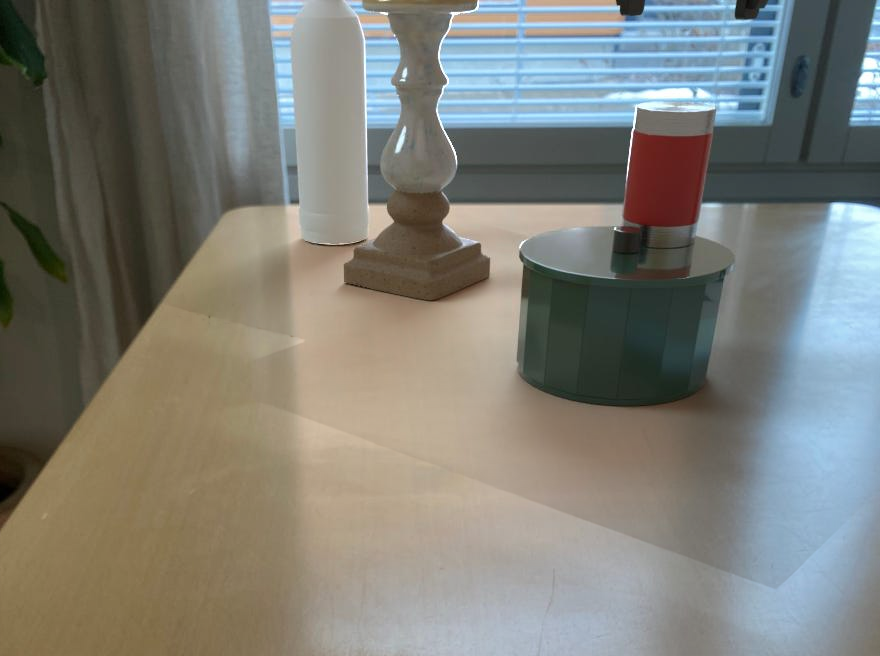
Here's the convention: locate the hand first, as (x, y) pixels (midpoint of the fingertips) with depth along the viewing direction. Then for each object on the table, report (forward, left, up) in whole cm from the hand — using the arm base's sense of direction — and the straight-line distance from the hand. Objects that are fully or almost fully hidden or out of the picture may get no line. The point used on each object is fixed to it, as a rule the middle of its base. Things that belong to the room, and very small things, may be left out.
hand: (686, 17), depth 66 cm
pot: (+3, +3, -24) cm, 24 cm away
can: (0, 0, -14) cm, 14 cm away
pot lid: (+3, +3, -15) cm, 16 cm away
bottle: (+24, -42, -24) cm, 54 cm away
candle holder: (+16, -24, -24) cm, 37 cm away
